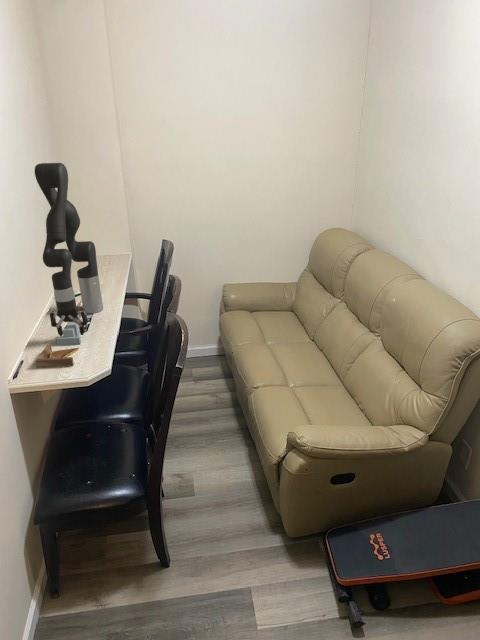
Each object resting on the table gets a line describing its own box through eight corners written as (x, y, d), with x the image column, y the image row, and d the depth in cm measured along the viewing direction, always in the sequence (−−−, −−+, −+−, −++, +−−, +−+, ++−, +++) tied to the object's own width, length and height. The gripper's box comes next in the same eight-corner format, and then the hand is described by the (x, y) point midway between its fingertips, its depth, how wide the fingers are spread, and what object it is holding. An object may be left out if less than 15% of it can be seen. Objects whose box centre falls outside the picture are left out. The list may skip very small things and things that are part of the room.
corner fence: (48, 352, 185) (46, 345, 183) (81, 350, 185) (80, 343, 184) (37, 367, 173) (35, 360, 171) (72, 366, 173) (71, 358, 172)
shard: (79, 350, 186) (79, 346, 185) (79, 359, 179) (79, 354, 179) (50, 355, 183) (49, 350, 182) (49, 363, 176) (48, 359, 176)
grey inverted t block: (64, 335, 199) (62, 322, 196) (86, 334, 199) (84, 321, 197) (57, 345, 190) (55, 332, 188) (80, 344, 190) (77, 331, 188)
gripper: (85, 294, 192) (91, 330, 198) (49, 295, 191) (57, 331, 197) (80, 300, 185) (87, 337, 191) (43, 302, 184) (51, 339, 190)
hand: (71, 334), depth 194 cm, fingers open, 8 cm apart
